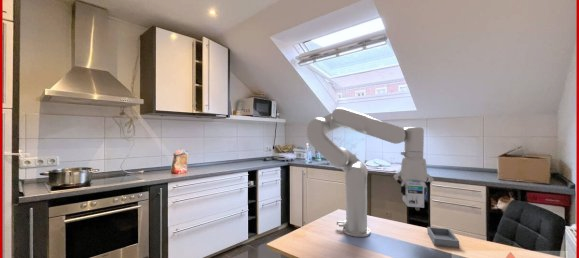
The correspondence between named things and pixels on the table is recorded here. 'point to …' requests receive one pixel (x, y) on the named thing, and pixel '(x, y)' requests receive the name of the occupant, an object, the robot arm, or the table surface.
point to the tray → (442, 237)
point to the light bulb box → (414, 194)
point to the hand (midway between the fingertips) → (412, 195)
